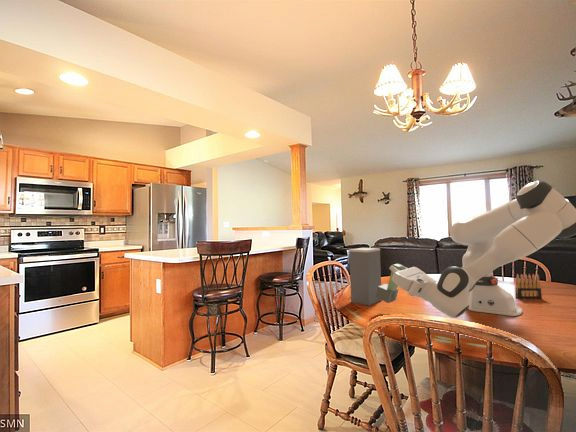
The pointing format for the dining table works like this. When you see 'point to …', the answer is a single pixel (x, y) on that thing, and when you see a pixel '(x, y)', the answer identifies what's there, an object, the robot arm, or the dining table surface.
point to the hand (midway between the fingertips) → (393, 266)
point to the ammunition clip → (528, 287)
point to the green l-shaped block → (388, 288)
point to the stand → (365, 275)
